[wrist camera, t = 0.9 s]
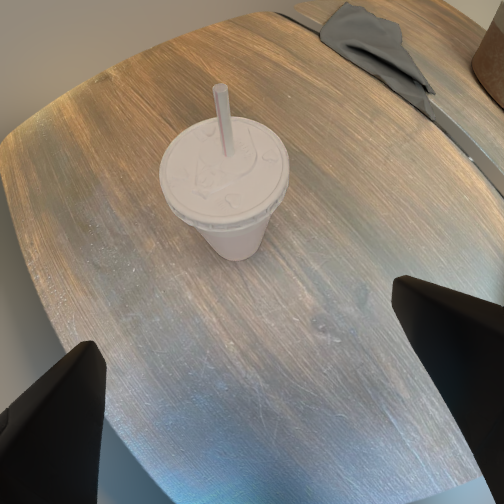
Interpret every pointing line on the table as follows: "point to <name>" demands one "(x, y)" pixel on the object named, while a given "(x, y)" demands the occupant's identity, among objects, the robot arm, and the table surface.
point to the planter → (492, 58)
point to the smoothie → (226, 179)
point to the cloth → (377, 52)
